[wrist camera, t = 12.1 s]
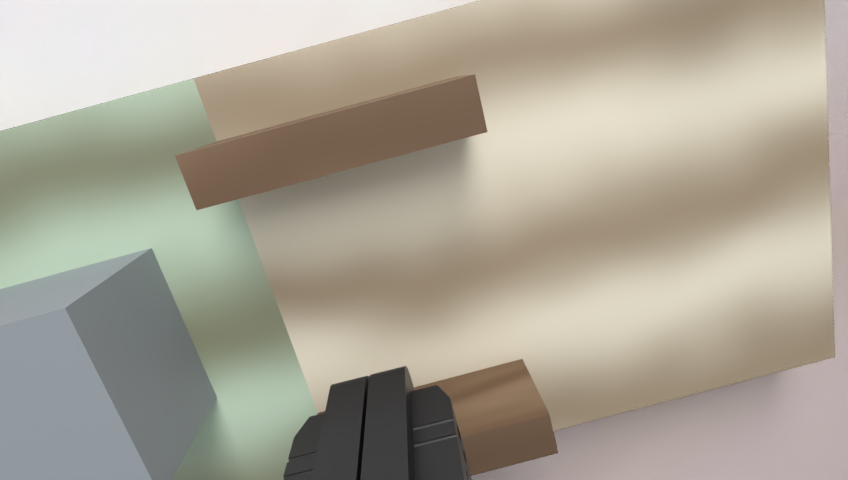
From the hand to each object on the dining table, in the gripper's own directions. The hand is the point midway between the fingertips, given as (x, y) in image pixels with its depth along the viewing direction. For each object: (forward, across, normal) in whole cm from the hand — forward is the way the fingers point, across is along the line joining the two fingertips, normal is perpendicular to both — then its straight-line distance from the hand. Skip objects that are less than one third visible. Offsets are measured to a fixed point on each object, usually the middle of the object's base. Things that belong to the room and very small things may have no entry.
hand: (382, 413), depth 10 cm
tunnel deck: (+11, +2, 0) cm, 12 cm away
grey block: (+8, +11, 0) cm, 14 cm away
